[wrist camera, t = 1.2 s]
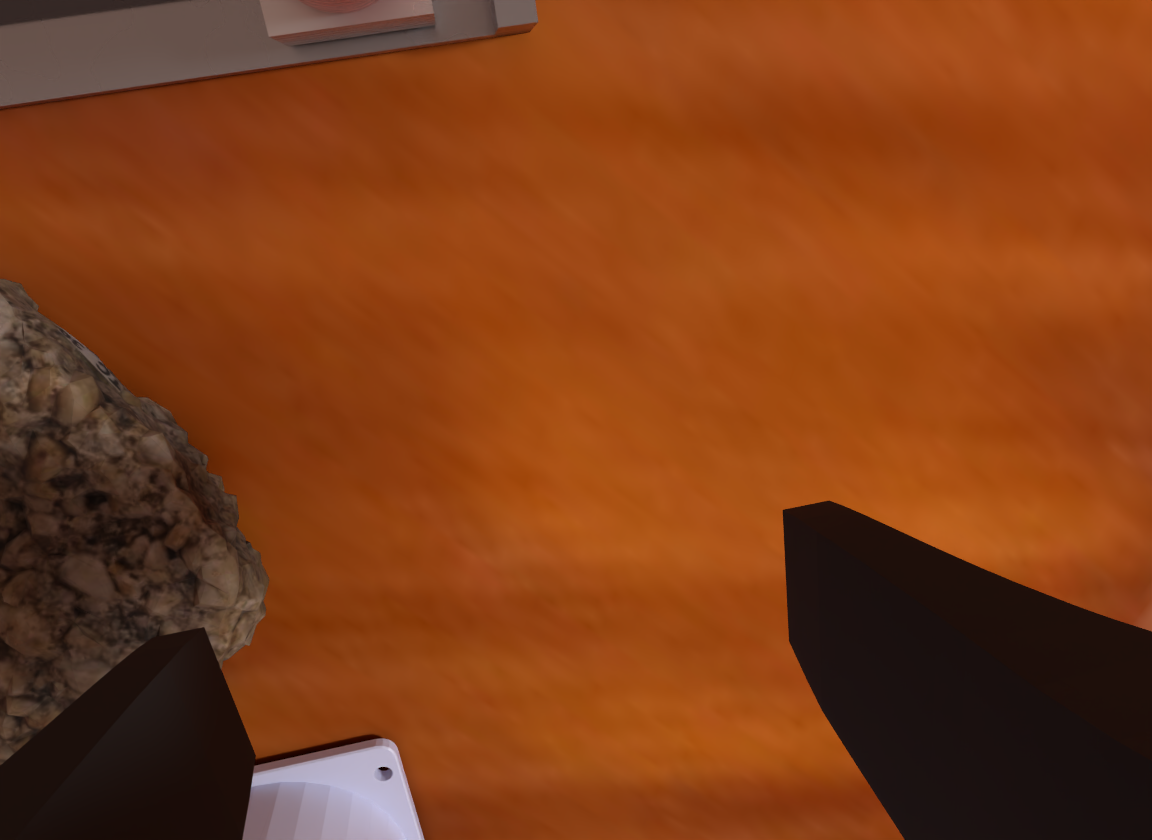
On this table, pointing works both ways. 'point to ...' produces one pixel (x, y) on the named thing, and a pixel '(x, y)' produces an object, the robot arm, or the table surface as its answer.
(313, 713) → the table surface
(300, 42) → the lever
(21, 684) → the concrete sample
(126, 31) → the lever rail
